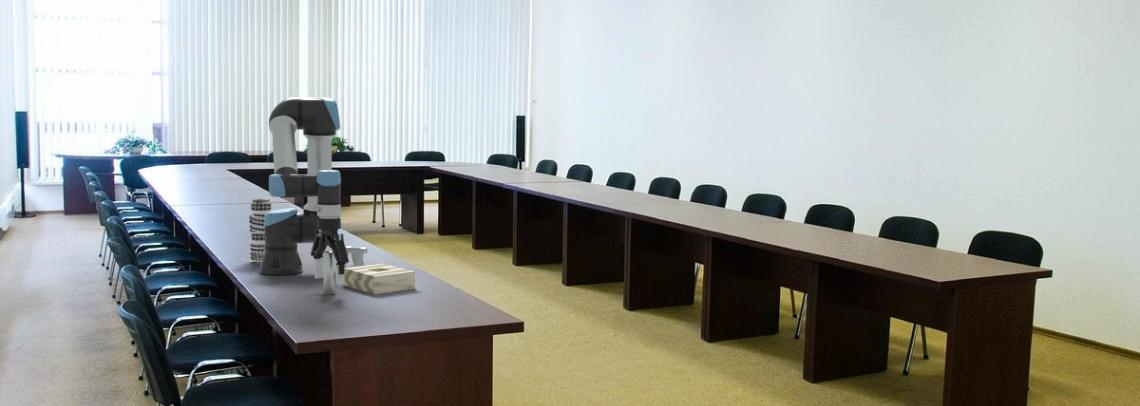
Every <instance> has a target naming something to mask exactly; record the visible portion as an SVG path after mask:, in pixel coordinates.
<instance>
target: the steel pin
mask: <svg viewBox="0 0 1140 406" xmlns="http://www.w3.org/2000/svg"><path fill="white" fill-rule="evenodd" d="M322 256H323V258H322V259H323V278H322V281H323V282H322V288H323V290H322V294H323V295H325V296H334V295H336V294H337V293H336V292H337V287H336V263H337V261H336V259H335V256H334V254H333V251H332V250H325V251H324V252H323V255H322Z"/></svg>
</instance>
